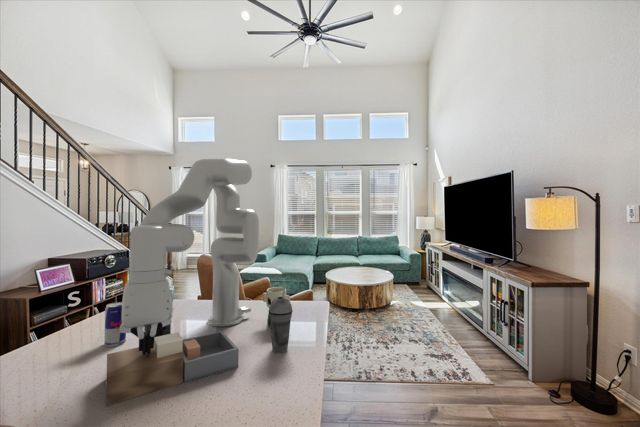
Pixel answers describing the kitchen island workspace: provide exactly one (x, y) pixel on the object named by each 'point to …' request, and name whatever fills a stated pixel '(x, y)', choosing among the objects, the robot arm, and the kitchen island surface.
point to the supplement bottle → (163, 331)
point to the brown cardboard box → (140, 373)
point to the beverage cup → (280, 322)
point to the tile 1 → (168, 344)
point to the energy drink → (113, 325)
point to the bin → (210, 357)
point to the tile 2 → (191, 349)
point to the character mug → (273, 297)
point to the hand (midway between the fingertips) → (146, 352)
